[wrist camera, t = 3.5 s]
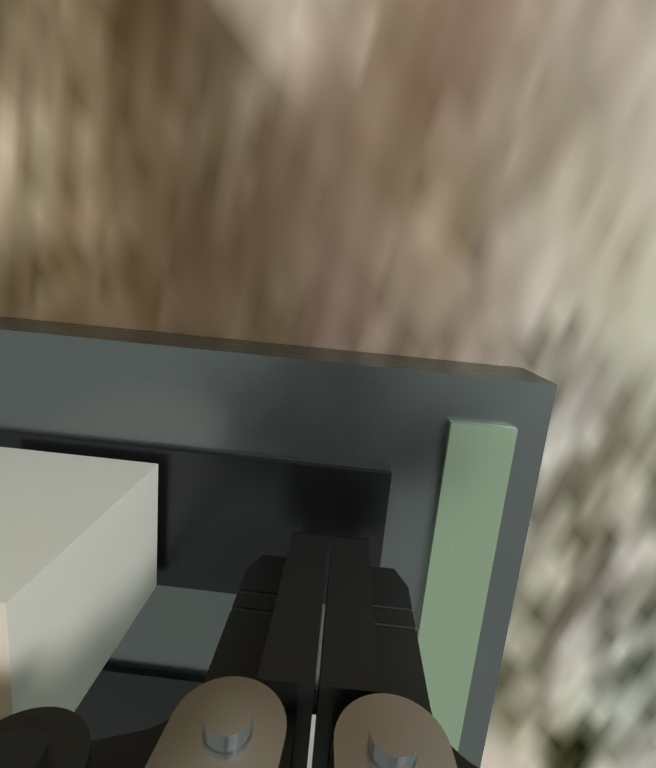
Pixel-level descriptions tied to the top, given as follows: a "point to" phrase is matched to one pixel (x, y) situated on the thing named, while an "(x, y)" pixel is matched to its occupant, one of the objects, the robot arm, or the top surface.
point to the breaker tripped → (70, 570)
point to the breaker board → (293, 489)
